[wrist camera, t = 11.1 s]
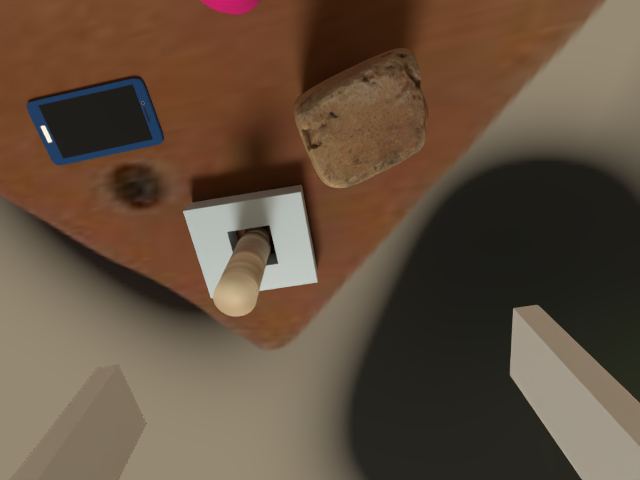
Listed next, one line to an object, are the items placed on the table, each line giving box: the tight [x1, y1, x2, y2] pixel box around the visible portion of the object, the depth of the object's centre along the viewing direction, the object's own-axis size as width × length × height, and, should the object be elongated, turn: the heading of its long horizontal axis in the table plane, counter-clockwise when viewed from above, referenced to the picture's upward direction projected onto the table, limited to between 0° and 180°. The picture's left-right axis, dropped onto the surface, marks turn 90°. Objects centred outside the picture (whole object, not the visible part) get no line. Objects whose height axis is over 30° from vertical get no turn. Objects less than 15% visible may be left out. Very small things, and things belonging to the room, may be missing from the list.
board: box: [183, 185, 318, 298], centre depth 46 cm, size 12×14×4 cm
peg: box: [213, 227, 271, 316], centre depth 41 cm, size 4×4×15 cm
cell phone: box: [27, 78, 164, 165], centre depth 42 cm, size 7×14×1 cm, turn 101°
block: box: [294, 48, 428, 188], centre depth 33 cm, size 11×8×20 cm
